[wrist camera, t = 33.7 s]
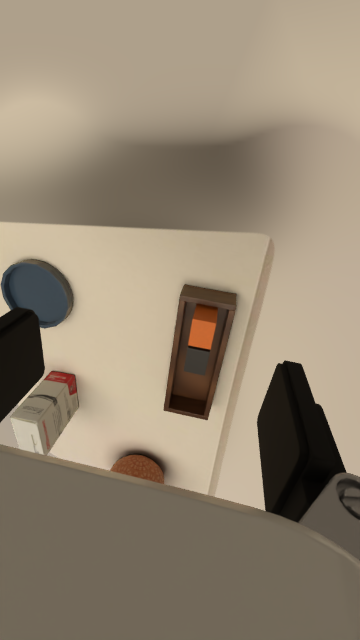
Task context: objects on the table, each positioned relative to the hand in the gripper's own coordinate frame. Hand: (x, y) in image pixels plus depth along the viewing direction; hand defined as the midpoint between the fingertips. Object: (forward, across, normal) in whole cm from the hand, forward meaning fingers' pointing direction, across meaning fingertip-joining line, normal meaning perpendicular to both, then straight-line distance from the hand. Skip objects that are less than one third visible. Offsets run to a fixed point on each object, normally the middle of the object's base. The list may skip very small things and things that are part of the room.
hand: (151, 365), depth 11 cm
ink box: (+31, +22, +35) cm, 51 cm away
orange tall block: (+30, -2, +12) cm, 32 cm away
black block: (+30, -2, +16) cm, 34 cm away
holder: (+30, -2, +19) cm, 36 cm away
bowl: (+30, +25, +14) cm, 42 cm away
